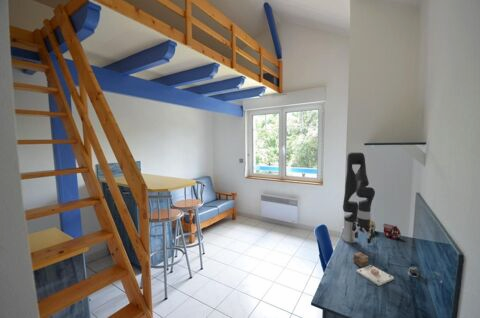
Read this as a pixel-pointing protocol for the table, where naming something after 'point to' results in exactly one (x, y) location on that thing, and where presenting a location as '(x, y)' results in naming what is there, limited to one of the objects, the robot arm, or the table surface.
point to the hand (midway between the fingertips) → (362, 240)
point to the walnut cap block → (360, 259)
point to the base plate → (375, 275)
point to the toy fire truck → (389, 229)
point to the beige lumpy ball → (372, 225)
